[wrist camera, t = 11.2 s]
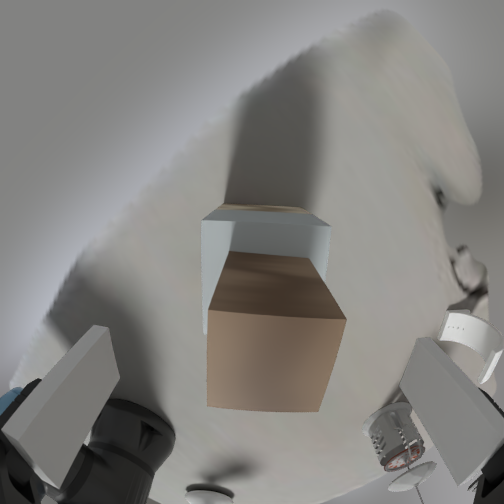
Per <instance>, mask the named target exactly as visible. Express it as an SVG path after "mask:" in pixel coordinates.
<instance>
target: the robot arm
mask: <svg viewBox="0 0 504 504" xmlns="http://www.w3.org/2000/svg"><path fill="white" fill-rule="evenodd" d="M119 379H120V375H119V371H118V367H117V363H116V359H115V355H114V350H113V346H112V341H111V336H110V331H109V327H104V326H98V325H93V326H92V327H91V328H90V329H89V330H88V331H87V332H86V333H85V334H84V335H83V336H82V337H81V338H80V339H79V340H78V342H77V343H76V344H75V345H74V346H73V347H72V348H71V349H70V350H69V351H68V352H67V353H66V354H65V355H64V356H63V357H62V359H61V360H60V361H59V362H58V363H57V364H56V365H55V366H54V367H53V368H52V370H51V371H50V372H49V373H48V374H47V375H46V376H45V377H44V378H43V380H41V379H39V378H38V379H36V380H34V381H32V382H31V383H29V384H27V385H26V387H25V388H24V389H23V388H20V387H16V388H13V389H12V390H10V391H9V392H7V393H6V394H5V395H3V396H2V397H1V398H0V504H41V500H42V499H43V497H44V496H45V495H47V496H49V497H51V498H52V499H53V500H55V501H56V502H57V503H58V504H146V503H147V499H148V496H149V492H150V489H151V485H152V481H153V478H154V475H155V472H156V471H157V470H158V469H159V467H160V466H161V465H162V464H163V463H164V461H165V460H166V459H167V458H168V457H169V455H170V454H171V453H172V451H173V447H174V444H175V435H174V433H173V431H172V430H171V428H170V427H169V426H168V425H167V424H166V423H165V422H164V421H163V420H162V419H161V418H160V417H158V416H157V415H155V414H154V413H152V412H151V411H149V410H147V409H145V408H143V407H141V406H139V405H136V404H134V403H131V402H128V401H124V400H118V399H108V398H109V396H110V395H111V393H112V391H113V389H114V388H115V386H116V384H117V383H118V381H119ZM399 387H400V388H401V390H402V392H403V393H404V395H405V396H406V398H407V399H408V401H409V403H410V404H411V406H412V408H413V409H414V411H415V412H416V414H417V416H418V417H419V419H420V421H421V422H422V424H423V426H424V427H425V429H426V431H427V432H428V434H429V436H430V438H431V439H432V441H433V443H434V444H435V446H436V448H437V450H438V451H439V453H440V455H441V457H442V458H443V460H444V462H445V464H446V466H447V468H448V469H449V471H450V473H451V475H452V477H453V479H454V480H455V482H456V484H457V486H460V485H462V484H464V483H466V482H467V481H469V480H471V479H472V478H473V477H474V476H475V475H476V474H477V473H478V472H479V471H480V470H481V471H482V473H483V474H482V475H481V476H480V477H479V478H478V479H477V480H475V481H474V482H473V483H472V484H471V485H470V486H469V488H468V490H467V491H470V490H471V489H472V488H473V487H475V485H477V484H478V485H477V487H476V488H474V490H473V491H472V492H476V494H475V498H474V503H473V504H504V412H503V411H502V410H501V408H499V406H498V405H497V404H496V403H495V402H494V400H493V399H492V398H491V397H490V396H489V395H488V394H487V393H486V392H485V391H483V390H481V389H480V388H477V386H476V385H475V384H474V383H473V382H472V381H471V380H470V379H469V378H468V376H467V375H466V374H465V373H464V372H463V371H462V370H461V369H460V368H459V367H458V366H457V365H456V364H455V363H454V362H453V360H452V359H451V358H450V357H449V356H448V355H447V354H446V353H445V352H444V351H443V350H442V349H441V348H440V347H439V346H438V345H437V344H436V343H435V342H434V341H433V340H432V339H431V338H430V337H426V338H417V340H416V343H415V346H414V349H413V352H412V354H411V357H410V360H409V362H408V365H407V367H406V370H405V372H404V375H403V377H402V379H401V382H400V384H399ZM90 430H91V436H90V442H89V444H88V446H86V445H85V444H84V443H83V442H84V440H85V439H86V437H87V435H88V433H89V431H90Z"/></svg>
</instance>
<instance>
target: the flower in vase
mask: <svg viewBox="0 0 504 504" xmlns="http://www.w3.org/2000/svg"><path fill="white" fill-rule="evenodd" d="M185 498H186V500H187V501H188V503H189V504H233V501H232V499H231V498H230V497H228V496H226V495H224V494H221V493H218V492H213V491H206V490H195V491H190V492H188V493H187V494H186V495H185Z"/></svg>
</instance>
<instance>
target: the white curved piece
mask: <svg viewBox="0 0 504 504" xmlns="http://www.w3.org/2000/svg"><path fill="white" fill-rule="evenodd" d="M470 312H471V311H470V310H468V309H463V310H447V311H446V314H445V317H444V320H443V323H442V326H441V329H440V332H439V334H438V337H437V338H438V339H439V340H440V341H441V340H448V341H454V342H458V343H461V344H464V345H466V346H468V347H470V348H472V349H474V350H475V351H476V352H478V353H479V354H480V355H481V356H482V358H483V359H484V361H485V362H486V364H485V366H484V368H483V370H482V372H481V374H480V376H479V378H478V380H477V381H478V382H479V383H480V384H482V383H484V382H486V381H487V380H488V379H489V377H490V376H491V374H492V372H493V370H494V368H495V366H496V364H497V362H498V360H499V357H500V356H501V353H502V351H503V349H504V336H503V335H502V333H501V332H500V331H499V330H498V329H497V328H496V327H495V326H494V325H492V324H491V323H489V322H487V321H486V320H484V319H482V318H480V317H477V316H475V315H472V314H470Z"/></svg>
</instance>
